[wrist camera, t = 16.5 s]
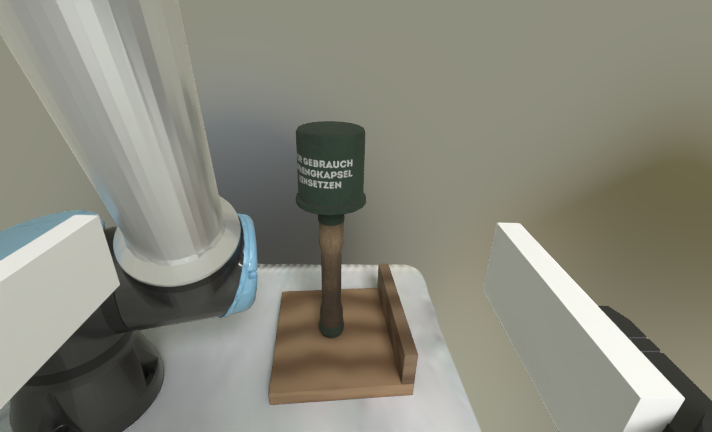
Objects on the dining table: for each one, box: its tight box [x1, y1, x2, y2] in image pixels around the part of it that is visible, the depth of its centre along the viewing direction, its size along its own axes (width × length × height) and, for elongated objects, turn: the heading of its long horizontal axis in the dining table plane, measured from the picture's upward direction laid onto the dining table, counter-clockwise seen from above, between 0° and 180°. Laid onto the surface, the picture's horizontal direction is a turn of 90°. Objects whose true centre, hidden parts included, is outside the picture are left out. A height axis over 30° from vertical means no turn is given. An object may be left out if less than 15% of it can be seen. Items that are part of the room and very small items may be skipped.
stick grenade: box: [296, 121, 366, 338], centre depth 47 cm, size 8×9×30 cm
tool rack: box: [269, 264, 418, 405], centre depth 53 cm, size 20×18×7 cm
